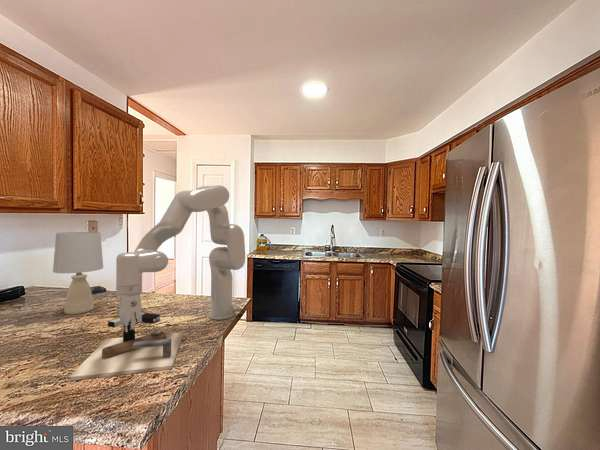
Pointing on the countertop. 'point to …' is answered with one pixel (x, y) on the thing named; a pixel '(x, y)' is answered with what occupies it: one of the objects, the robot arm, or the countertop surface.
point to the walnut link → (129, 344)
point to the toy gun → (145, 318)
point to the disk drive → (97, 289)
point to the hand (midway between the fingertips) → (129, 342)
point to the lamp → (78, 266)
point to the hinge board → (131, 357)
